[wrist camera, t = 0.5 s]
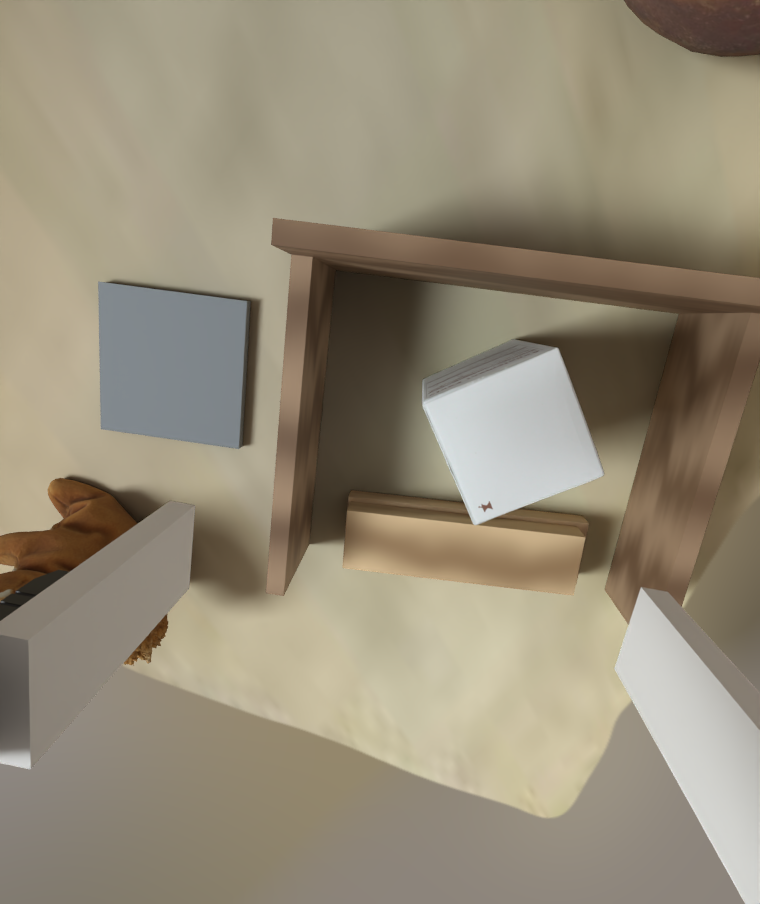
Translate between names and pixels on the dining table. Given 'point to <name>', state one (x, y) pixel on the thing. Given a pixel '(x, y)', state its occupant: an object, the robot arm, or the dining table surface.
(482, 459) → the supplement box
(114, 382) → the slate mat
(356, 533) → the offcut stack
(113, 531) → the stuffed squirrel
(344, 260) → the walnut rack
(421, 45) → the dining table surface
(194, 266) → the dining table surface
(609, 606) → the dining table surface
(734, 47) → the chicken drumstick
